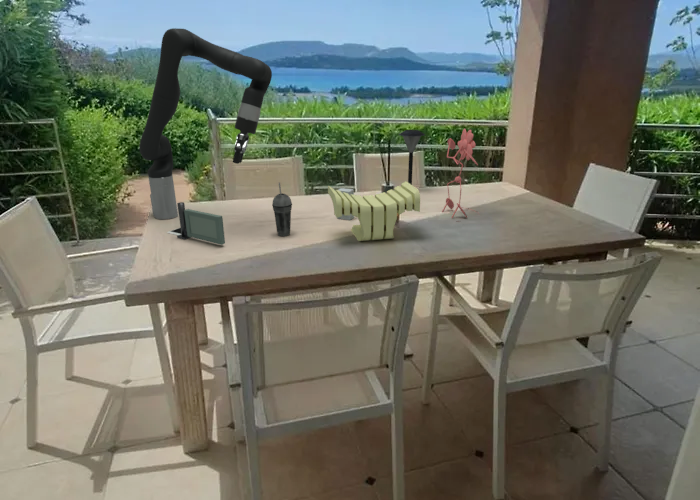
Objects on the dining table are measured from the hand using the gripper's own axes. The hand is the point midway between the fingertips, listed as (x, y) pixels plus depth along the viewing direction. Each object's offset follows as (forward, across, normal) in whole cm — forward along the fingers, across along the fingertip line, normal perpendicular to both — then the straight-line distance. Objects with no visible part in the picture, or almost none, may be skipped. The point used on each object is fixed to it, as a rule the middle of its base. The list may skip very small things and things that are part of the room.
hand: (236, 162), depth 177 cm
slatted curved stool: (+12, +7, +54) cm, 56 cm away
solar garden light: (-5, -51, +78) cm, 93 cm away
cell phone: (+31, -10, -12) cm, 34 cm away
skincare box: (+11, -15, +46) cm, 50 cm away
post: (+32, 0, -12) cm, 34 cm away
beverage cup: (+21, +2, +23) cm, 31 cm away
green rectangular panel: (+29, +7, -3) cm, 30 cm away
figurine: (-4, -15, +93) cm, 94 cm away
